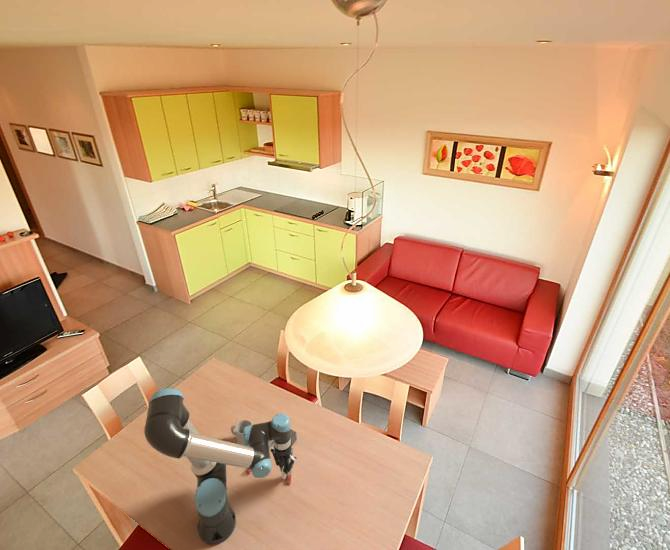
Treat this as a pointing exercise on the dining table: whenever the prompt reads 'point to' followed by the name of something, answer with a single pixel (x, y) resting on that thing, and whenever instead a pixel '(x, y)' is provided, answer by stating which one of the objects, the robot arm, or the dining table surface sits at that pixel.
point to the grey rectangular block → (293, 437)
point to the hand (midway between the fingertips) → (285, 476)
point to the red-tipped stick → (290, 470)
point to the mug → (240, 431)
